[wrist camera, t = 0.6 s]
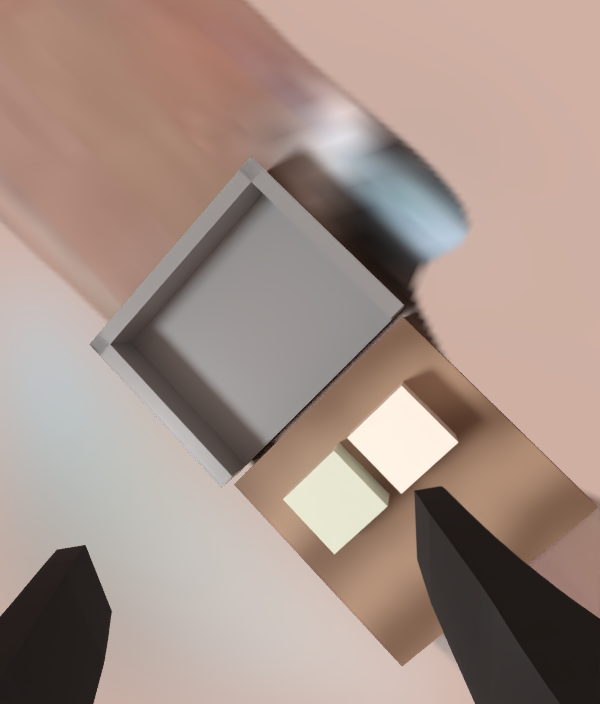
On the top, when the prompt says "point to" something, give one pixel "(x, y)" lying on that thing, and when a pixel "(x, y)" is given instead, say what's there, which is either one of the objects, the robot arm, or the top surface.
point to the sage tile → (337, 498)
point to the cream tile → (402, 437)
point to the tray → (243, 323)
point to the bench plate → (414, 487)
